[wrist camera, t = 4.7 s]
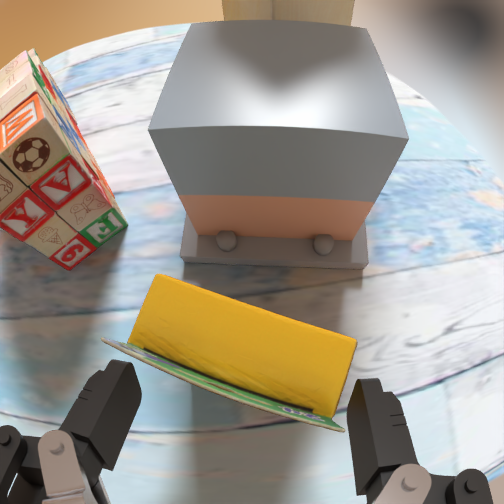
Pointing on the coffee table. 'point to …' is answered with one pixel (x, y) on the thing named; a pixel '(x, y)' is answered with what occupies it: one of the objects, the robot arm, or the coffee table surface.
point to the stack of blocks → (49, 169)
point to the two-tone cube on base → (277, 141)
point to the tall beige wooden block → (290, 10)
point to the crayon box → (241, 351)
